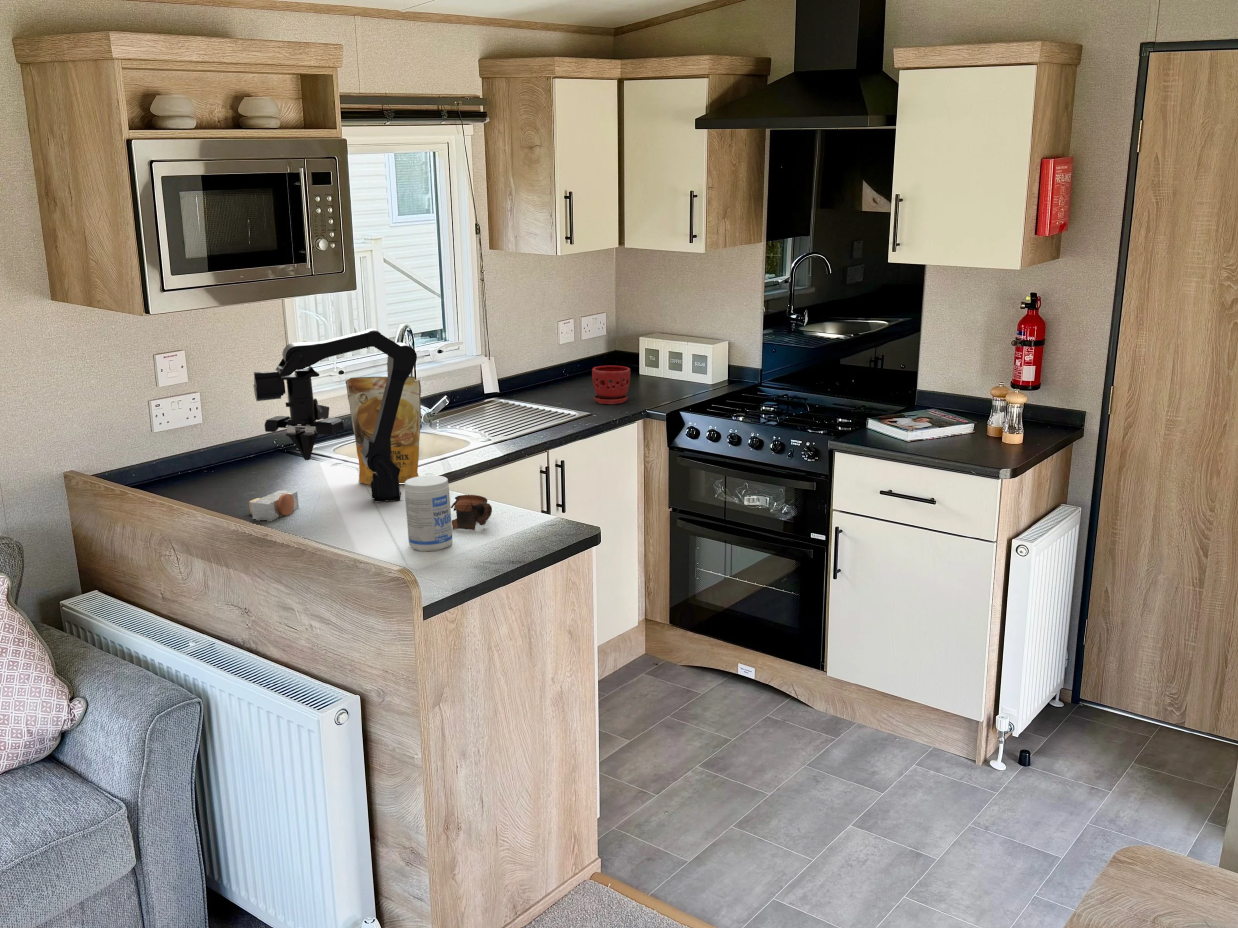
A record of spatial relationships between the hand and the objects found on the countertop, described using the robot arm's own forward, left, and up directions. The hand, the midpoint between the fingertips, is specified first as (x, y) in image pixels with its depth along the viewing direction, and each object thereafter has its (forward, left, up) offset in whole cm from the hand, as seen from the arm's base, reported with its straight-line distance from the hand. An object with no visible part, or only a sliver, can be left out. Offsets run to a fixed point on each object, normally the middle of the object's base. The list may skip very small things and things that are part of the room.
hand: (307, 459), depth 276 cm
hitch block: (+8, +2, -12) cm, 15 cm away
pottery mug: (-38, +23, -13) cm, 46 cm away
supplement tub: (-29, +35, -13) cm, 47 cm away
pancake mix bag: (-18, -21, -13) cm, 30 cm away
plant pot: (-90, -107, -13) cm, 140 cm away
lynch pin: (+10, +1, -13) cm, 16 cm away
